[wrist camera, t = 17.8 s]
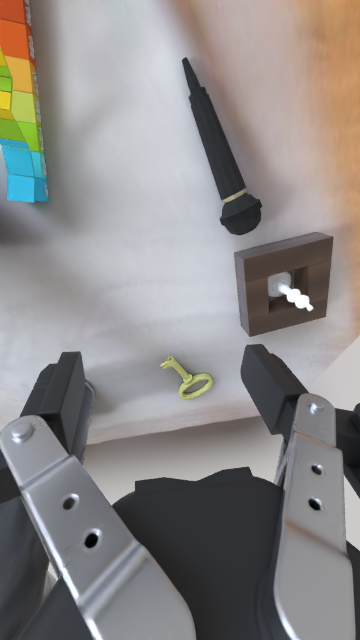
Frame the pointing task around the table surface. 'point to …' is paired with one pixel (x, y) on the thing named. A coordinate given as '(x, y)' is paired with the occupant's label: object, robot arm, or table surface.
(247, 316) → the holder
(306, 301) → the chess piece
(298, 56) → the table surface
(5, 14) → the chart
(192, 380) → the key
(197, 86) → the microphone
